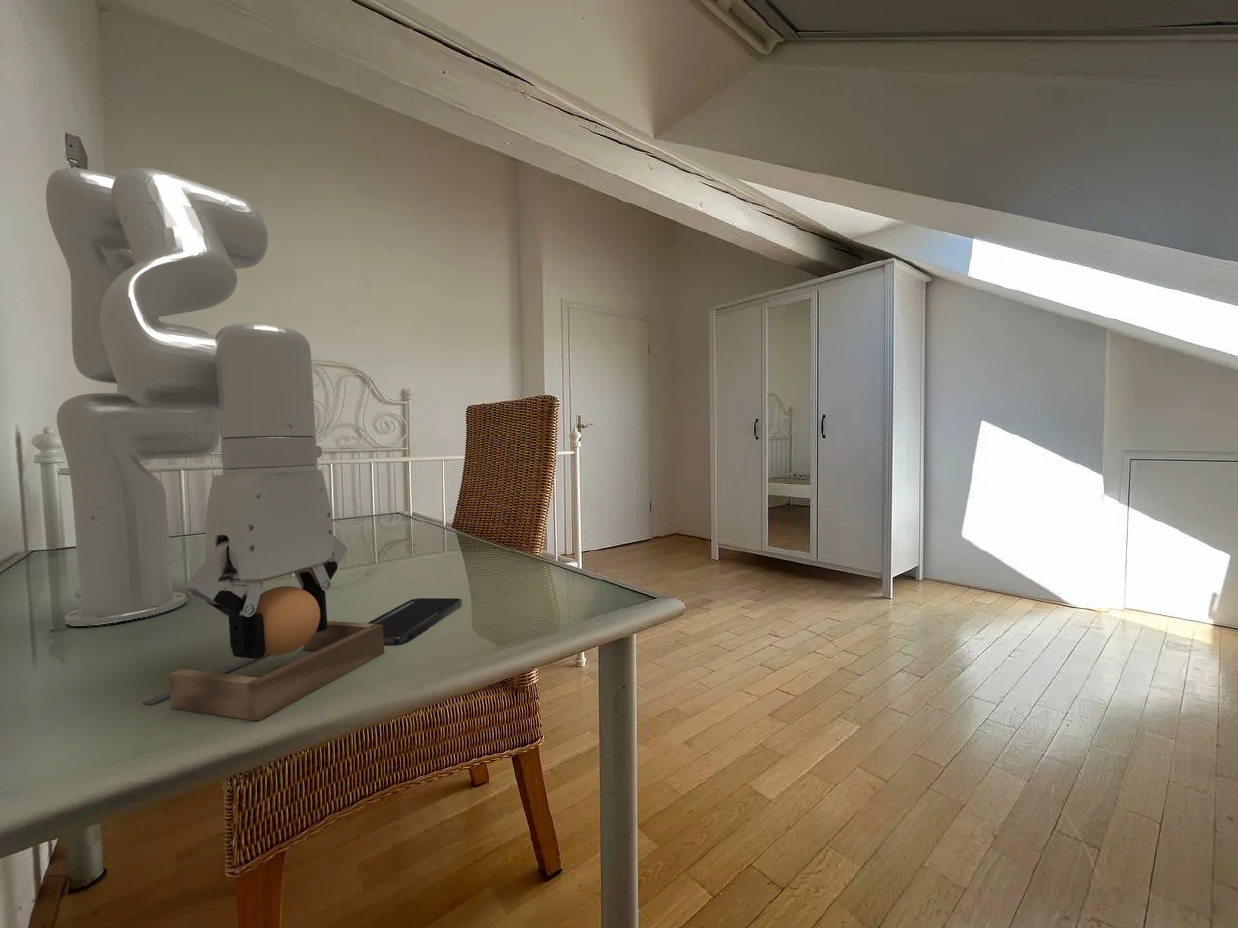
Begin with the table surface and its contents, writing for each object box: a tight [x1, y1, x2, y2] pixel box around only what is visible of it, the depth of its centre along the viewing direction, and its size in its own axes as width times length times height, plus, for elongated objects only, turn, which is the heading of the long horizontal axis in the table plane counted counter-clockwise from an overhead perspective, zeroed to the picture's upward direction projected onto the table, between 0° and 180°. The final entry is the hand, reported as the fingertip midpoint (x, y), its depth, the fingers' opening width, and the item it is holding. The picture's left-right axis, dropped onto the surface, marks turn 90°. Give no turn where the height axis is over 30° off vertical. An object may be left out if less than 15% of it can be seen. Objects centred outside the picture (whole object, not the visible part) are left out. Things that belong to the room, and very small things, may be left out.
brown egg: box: [255, 585, 320, 656], centre depth 49 cm, size 6×6×6 cm
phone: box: [366, 597, 463, 646], centre depth 64 cm, size 8×1×15 cm
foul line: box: [142, 654, 269, 706], centre depth 51 cm, size 1×14×1 cm, turn 164°
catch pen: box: [168, 620, 385, 721], centre depth 49 cm, size 10×14×3 cm
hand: (282, 640), depth 49 cm, fingers closed on brown egg, 6 cm apart
